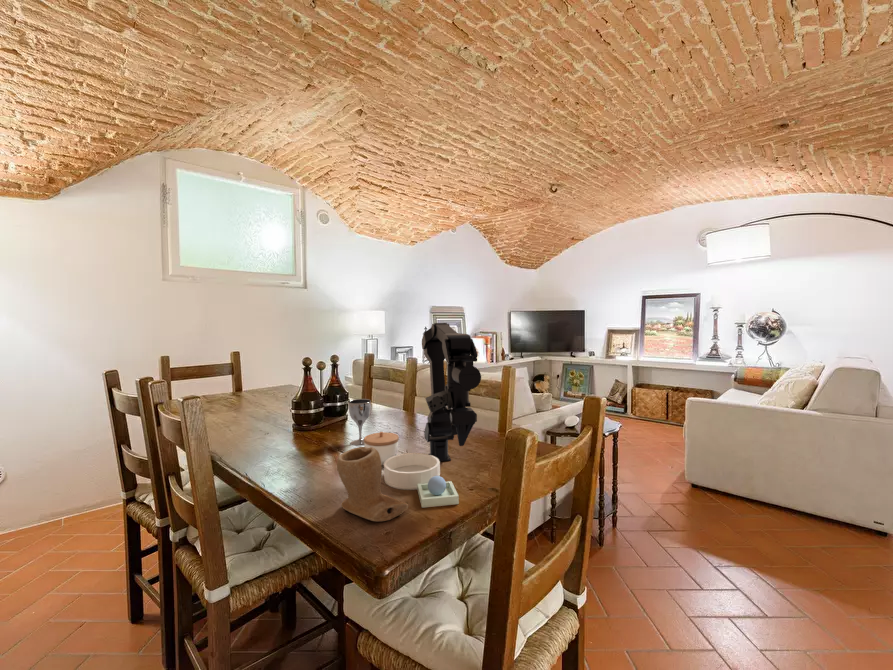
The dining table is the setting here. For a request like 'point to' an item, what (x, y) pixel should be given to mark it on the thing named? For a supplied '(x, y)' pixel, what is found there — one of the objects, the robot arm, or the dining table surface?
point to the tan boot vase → (366, 485)
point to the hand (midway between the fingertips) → (458, 440)
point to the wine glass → (359, 415)
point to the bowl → (410, 470)
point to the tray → (437, 496)
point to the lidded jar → (383, 444)
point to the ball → (436, 485)
